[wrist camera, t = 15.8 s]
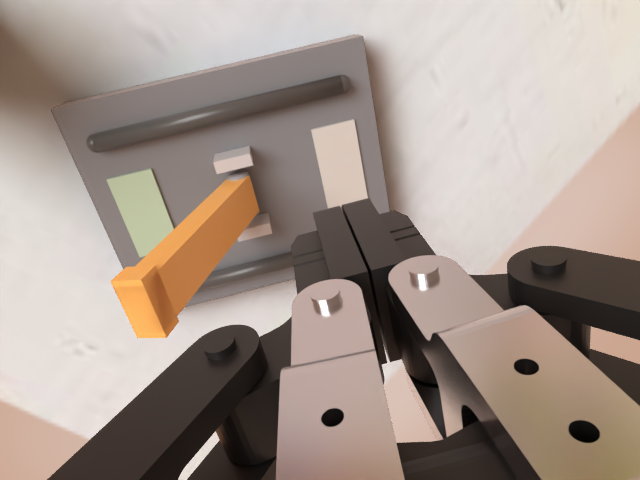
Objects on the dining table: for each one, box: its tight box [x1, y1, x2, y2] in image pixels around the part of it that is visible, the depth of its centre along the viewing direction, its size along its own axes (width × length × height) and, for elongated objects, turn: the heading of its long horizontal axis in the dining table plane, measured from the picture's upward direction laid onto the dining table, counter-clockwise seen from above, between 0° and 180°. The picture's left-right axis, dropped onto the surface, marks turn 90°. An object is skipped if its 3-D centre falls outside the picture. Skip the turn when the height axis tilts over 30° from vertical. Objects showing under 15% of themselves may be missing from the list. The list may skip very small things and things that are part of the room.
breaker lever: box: [111, 170, 260, 338], centre depth 27 cm, size 2×3×14 cm, turn 12°
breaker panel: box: [51, 35, 390, 307], centre depth 34 cm, size 20×16×4 cm
